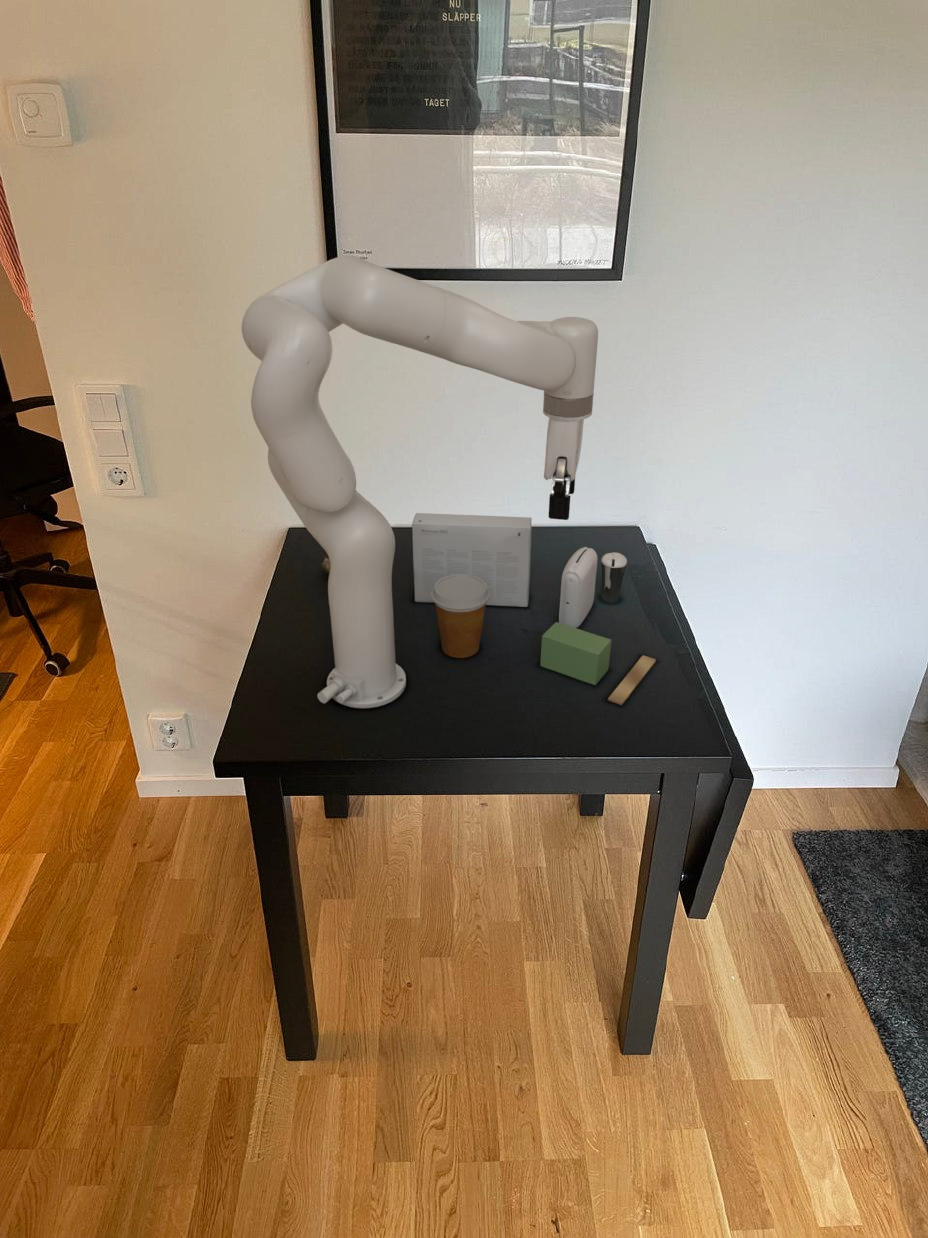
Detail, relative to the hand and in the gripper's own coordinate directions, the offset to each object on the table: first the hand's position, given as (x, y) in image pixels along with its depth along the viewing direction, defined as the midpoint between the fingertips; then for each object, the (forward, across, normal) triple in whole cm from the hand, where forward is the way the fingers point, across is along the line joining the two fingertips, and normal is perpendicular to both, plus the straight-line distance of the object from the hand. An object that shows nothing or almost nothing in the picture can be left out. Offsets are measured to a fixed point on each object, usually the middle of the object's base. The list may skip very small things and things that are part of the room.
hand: (561, 505), depth 147 cm
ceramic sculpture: (+24, -7, -39) cm, 46 cm away
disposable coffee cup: (+24, +10, -15) cm, 30 cm away
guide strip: (+23, +14, +14) cm, 31 cm away
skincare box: (+24, -7, -16) cm, 29 cm away
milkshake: (+24, -11, +9) cm, 28 cm away
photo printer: (+24, -4, +4) cm, 24 cm away
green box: (+23, +12, +5) cm, 27 cm away
